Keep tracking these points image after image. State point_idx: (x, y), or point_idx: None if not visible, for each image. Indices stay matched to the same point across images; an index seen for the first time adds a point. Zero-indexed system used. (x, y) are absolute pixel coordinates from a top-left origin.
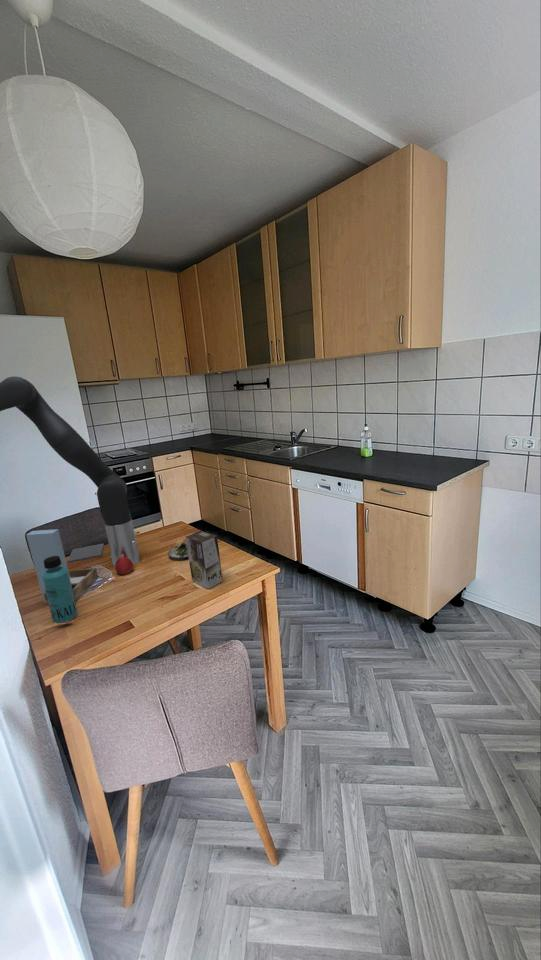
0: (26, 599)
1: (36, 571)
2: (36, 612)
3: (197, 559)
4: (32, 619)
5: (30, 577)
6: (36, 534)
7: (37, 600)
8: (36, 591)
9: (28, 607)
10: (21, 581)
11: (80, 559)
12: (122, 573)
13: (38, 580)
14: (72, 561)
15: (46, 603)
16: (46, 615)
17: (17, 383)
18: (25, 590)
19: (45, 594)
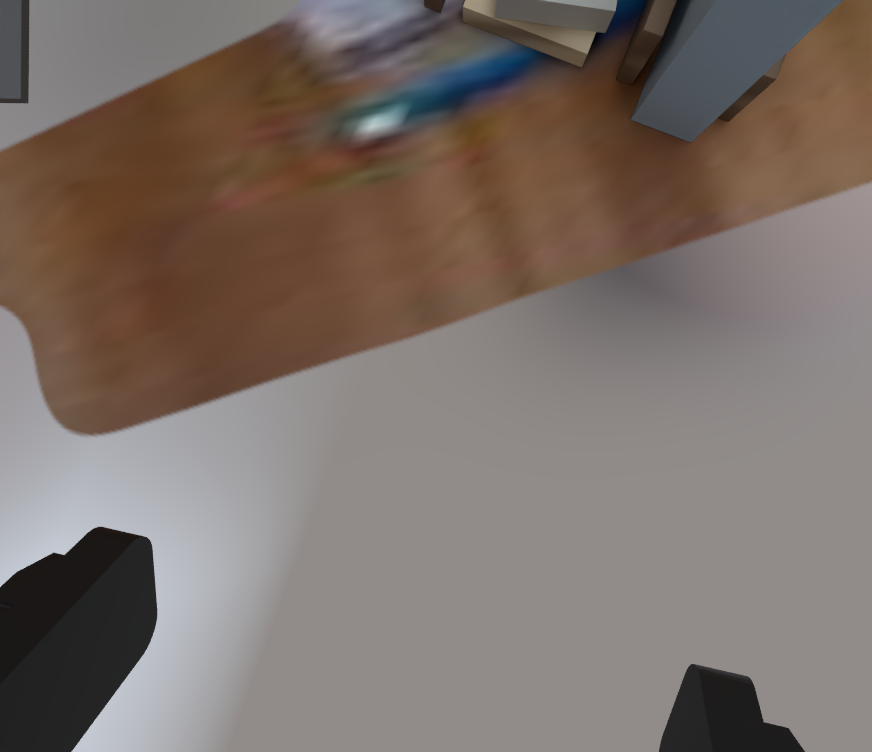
0: (522, 289)
1: (823, 13)
2: (743, 182)
3: None
4: (823, 188)
5: (167, 342)
6: None
7: (575, 211)
8: (432, 247)
9: (647, 249)
10: (206, 393)
11: (25, 6)
12: None
13: (776, 60)
14: (27, 69)
15: (745, 104)
16: (816, 110)
17: None
18: (376, 328)
19: (780, 67)
